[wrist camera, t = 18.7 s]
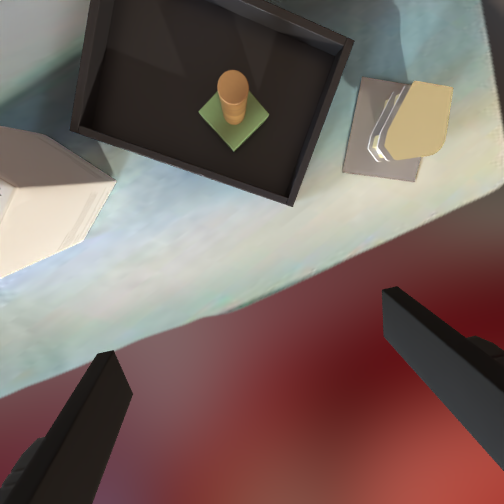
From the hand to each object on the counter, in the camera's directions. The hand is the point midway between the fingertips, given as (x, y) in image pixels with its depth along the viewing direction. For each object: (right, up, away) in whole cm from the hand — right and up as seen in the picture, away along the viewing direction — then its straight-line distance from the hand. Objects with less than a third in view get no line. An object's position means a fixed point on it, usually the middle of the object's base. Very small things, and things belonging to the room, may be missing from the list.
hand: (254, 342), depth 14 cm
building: (+16, +18, +18) cm, 30 cm away
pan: (-4, +21, +16) cm, 27 cm away
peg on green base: (-2, +19, +16) cm, 25 cm away
